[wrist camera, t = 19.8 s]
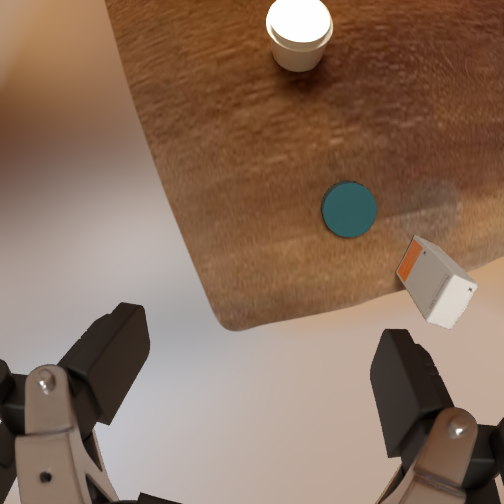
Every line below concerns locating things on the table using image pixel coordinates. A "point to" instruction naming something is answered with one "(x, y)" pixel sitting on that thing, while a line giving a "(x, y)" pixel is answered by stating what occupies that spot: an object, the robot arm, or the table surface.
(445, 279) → the cosmetic box
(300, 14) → the white jar
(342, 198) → the jam lid
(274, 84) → the table surface
